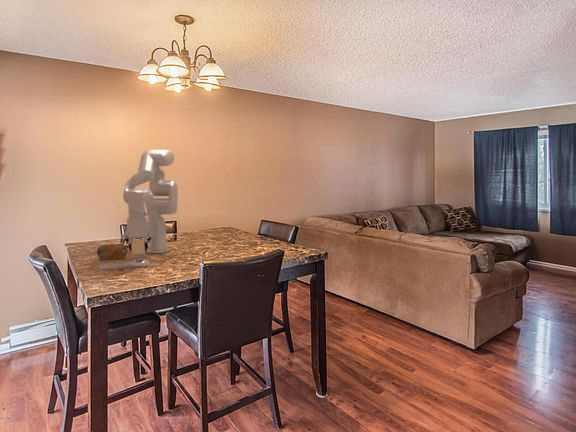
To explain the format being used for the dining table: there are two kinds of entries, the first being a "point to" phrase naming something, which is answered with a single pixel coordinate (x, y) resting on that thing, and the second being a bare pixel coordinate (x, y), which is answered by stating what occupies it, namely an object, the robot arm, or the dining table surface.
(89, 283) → the dining table surface
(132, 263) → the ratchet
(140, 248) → the tan wooden cube
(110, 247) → the tin
